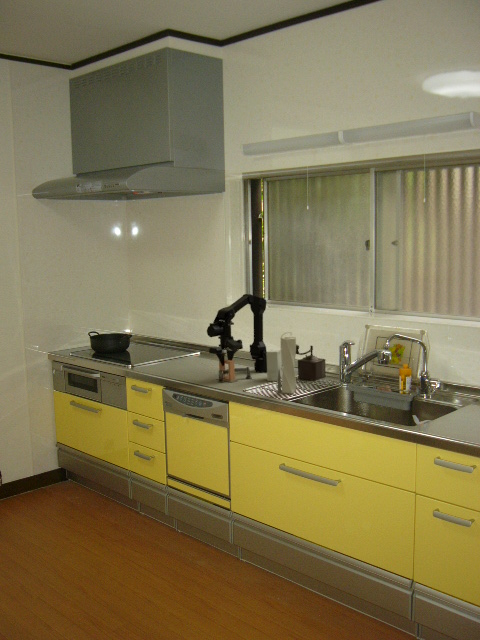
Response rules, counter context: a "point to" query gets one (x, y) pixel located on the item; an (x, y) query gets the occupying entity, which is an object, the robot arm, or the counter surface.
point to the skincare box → (273, 364)
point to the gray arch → (247, 369)
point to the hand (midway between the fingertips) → (226, 365)
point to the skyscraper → (287, 365)
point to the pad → (229, 381)
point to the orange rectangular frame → (231, 370)
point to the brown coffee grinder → (310, 366)
